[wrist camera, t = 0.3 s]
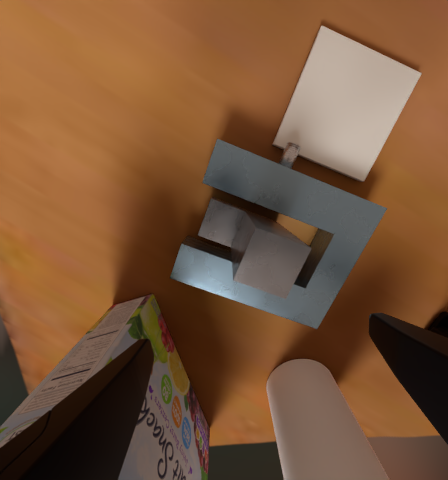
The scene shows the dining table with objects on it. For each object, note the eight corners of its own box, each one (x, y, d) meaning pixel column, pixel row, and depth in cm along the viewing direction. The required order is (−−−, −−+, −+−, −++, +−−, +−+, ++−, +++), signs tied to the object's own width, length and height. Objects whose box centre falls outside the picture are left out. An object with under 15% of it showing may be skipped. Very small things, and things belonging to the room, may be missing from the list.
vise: (375, 184, 20) (400, 185, 17) (305, 311, 23) (317, 329, 21) (226, 122, 19) (226, 111, 16) (177, 265, 22) (169, 278, 19)
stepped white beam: (276, 221, 21) (311, 248, 12) (262, 252, 22) (285, 299, 13) (212, 196, 20) (202, 207, 12) (200, 230, 21) (182, 262, 13)
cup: (252, 388, 26) (290, 678, 11) (298, 346, 25) (420, 619, 9) (300, 420, 28) (393, 719, 12) (347, 382, 26) (524, 673, 11)
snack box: (214, 427, 28) (202, 686, 14) (175, 436, 29) (123, 695, 14) (156, 290, 23) (36, 473, 9) (109, 303, 24) (-79, 497, 9)
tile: (415, 76, 18) (421, 73, 17) (359, 181, 20) (363, 181, 19) (318, 30, 17) (321, 25, 16) (272, 144, 19) (273, 143, 18)
